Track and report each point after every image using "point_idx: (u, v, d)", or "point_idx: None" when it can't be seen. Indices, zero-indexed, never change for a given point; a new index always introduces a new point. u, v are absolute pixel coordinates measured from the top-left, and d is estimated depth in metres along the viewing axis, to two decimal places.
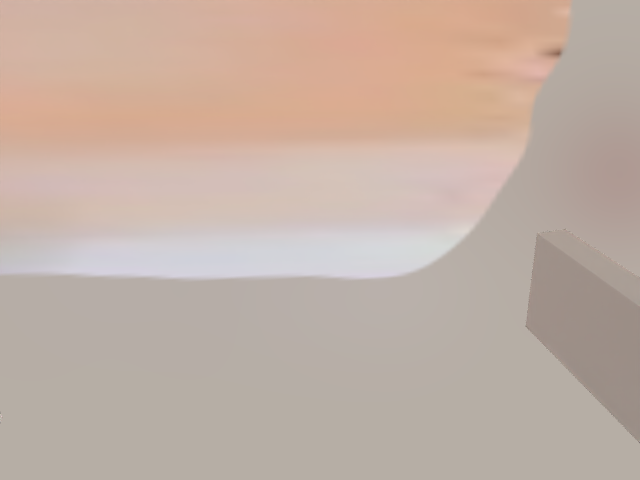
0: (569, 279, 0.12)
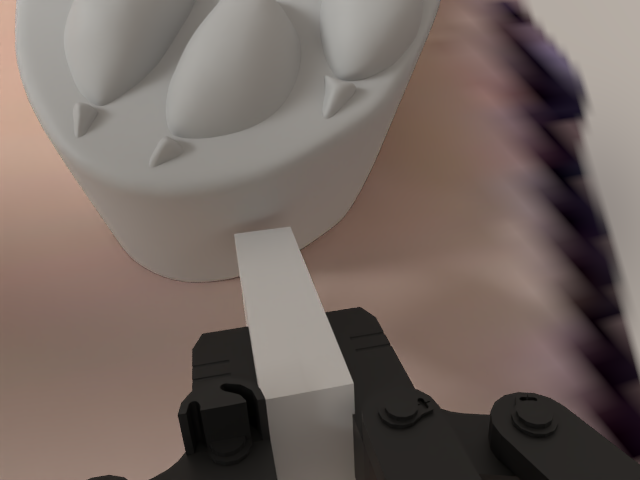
0: None
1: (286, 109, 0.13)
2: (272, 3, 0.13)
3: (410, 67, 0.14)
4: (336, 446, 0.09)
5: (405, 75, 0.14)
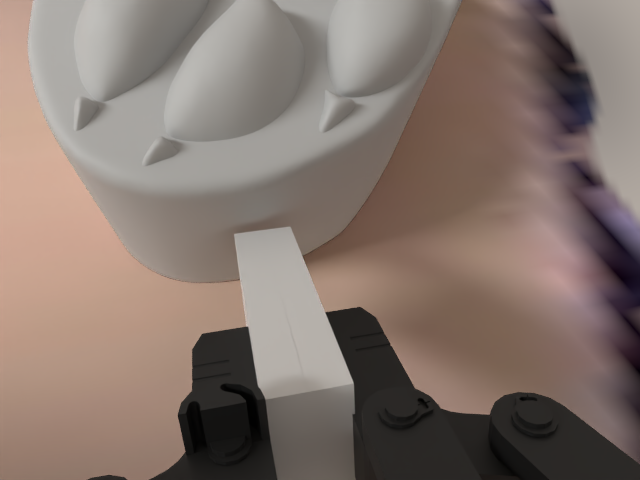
0: None
1: (283, 120, 0.13)
2: (278, 15, 0.13)
3: (413, 88, 0.14)
4: (336, 446, 0.09)
5: (407, 96, 0.14)
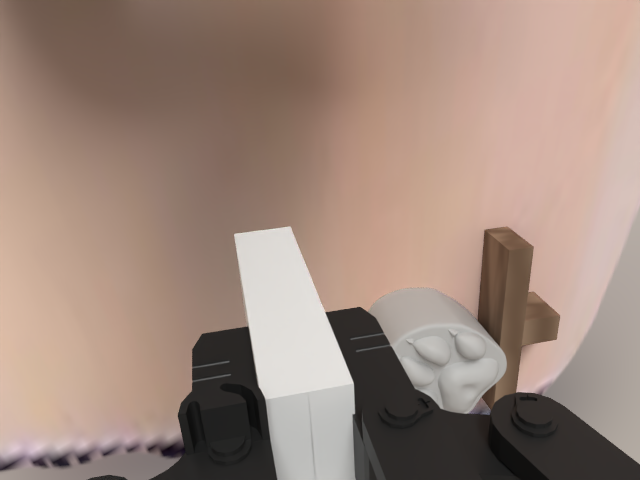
0: None
1: None
2: (426, 385, 0.53)
3: None
4: (336, 446, 0.09)
5: None
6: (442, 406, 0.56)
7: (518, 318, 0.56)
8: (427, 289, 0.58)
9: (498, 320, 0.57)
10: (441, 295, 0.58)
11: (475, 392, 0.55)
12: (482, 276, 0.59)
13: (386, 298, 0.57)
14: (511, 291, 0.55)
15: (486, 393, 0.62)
